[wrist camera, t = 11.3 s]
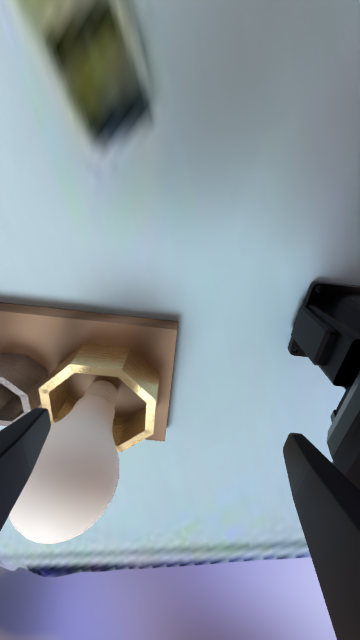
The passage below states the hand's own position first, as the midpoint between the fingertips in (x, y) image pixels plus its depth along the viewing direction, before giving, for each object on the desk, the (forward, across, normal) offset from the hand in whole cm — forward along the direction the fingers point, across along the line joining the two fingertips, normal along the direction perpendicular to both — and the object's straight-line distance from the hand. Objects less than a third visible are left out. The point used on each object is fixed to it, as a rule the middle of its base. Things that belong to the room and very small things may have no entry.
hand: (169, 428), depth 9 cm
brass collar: (+10, +6, +8) cm, 14 cm away
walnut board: (+12, +9, +8) cm, 17 cm away
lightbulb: (+11, +6, +8) cm, 15 cm away
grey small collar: (+10, +14, +8) cm, 19 cm away
